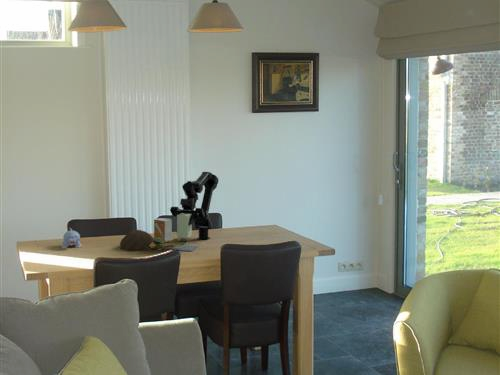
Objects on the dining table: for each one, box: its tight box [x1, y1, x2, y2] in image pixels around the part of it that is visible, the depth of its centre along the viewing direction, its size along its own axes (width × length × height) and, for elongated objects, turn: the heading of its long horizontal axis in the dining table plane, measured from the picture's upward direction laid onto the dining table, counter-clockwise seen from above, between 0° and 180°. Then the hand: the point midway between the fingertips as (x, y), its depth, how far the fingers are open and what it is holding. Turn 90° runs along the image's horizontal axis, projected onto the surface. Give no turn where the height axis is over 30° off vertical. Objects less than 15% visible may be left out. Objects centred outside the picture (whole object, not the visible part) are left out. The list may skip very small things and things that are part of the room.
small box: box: [153, 217, 173, 241], centre depth 413 cm, size 8×6×13 cm
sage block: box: [176, 213, 193, 239], centre depth 395 cm, size 6×6×12 cm
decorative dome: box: [119, 229, 155, 252], centre depth 398 cm, size 19×20×10 cm
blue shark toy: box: [60, 227, 82, 249], centre depth 399 cm, size 11×15×10 cm
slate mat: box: [169, 244, 199, 253], centre depth 396 cm, size 12×12×1 cm
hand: (183, 224), depth 393 cm, fingers closed on sage block, 6 cm apart
